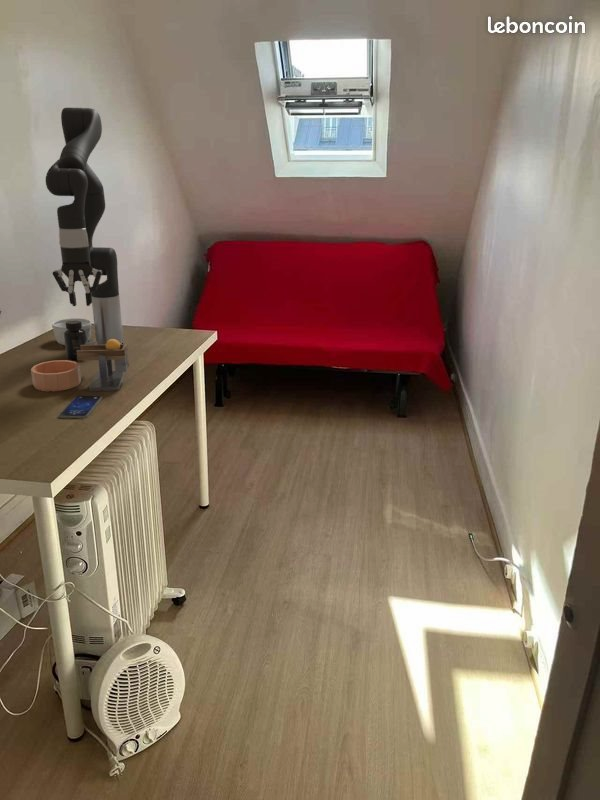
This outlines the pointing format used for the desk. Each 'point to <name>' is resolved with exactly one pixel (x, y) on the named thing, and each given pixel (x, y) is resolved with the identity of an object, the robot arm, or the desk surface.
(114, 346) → the ball
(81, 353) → the chute
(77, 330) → the supplement bottle
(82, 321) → the white bowl
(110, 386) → the chute stand
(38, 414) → the desk surface
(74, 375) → the pink round bowl
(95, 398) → the smartphone
